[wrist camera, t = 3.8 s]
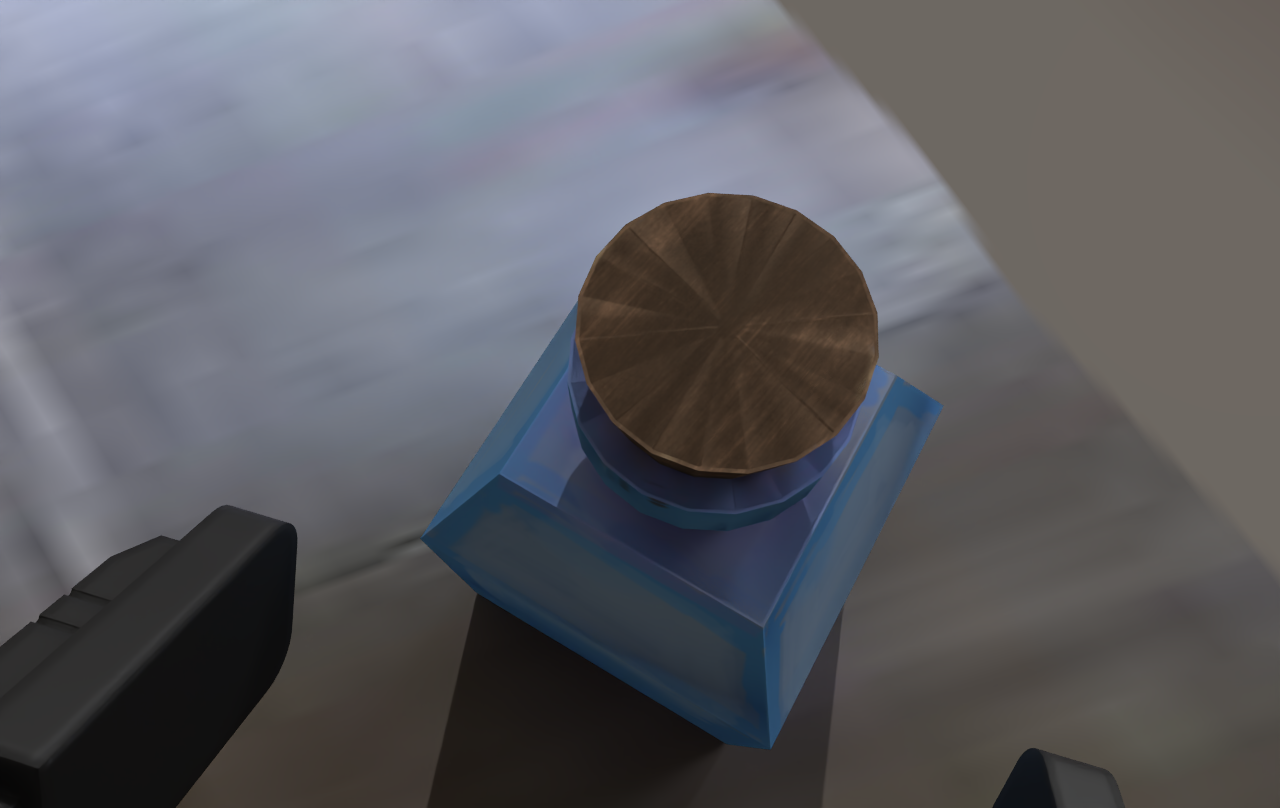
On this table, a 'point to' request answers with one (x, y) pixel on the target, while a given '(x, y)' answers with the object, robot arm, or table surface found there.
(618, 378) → the perfume bottle
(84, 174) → the table surface
